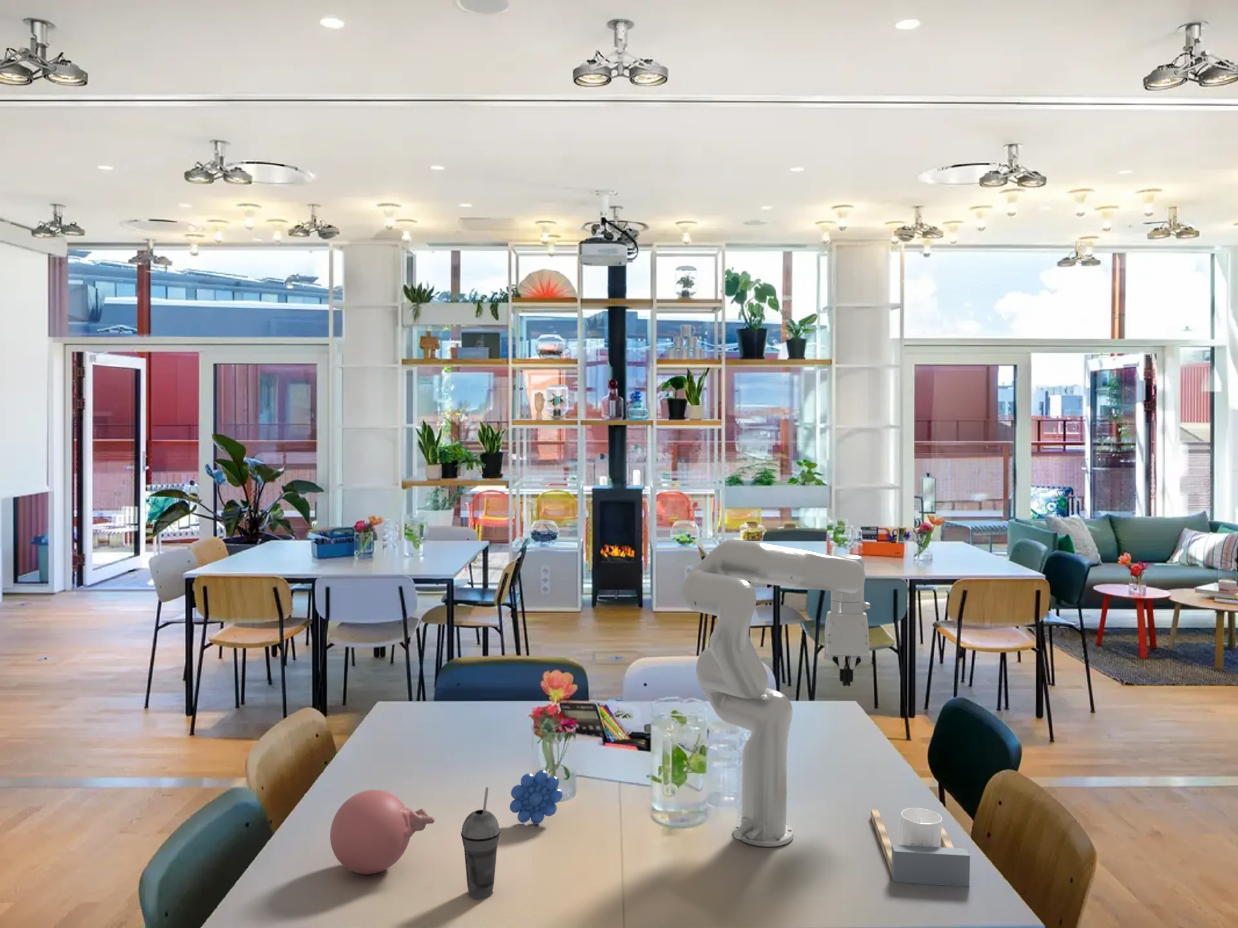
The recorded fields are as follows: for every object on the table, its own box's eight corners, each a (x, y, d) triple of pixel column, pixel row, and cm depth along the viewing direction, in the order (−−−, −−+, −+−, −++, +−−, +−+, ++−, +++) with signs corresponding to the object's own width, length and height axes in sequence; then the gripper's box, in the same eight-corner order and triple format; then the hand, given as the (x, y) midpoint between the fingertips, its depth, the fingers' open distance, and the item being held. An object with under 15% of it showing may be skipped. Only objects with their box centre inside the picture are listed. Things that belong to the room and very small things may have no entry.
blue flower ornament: (563, 815, 209) (564, 763, 209) (561, 828, 202) (561, 774, 202) (512, 815, 209) (512, 762, 209) (508, 828, 202) (508, 773, 202)
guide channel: (965, 878, 180) (965, 868, 180) (891, 874, 182) (891, 864, 182) (935, 821, 207) (935, 812, 207) (870, 817, 209) (871, 808, 209)
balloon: (428, 887, 176) (427, 807, 175) (320, 889, 175) (320, 808, 174) (440, 850, 191) (439, 777, 191) (341, 852, 190) (341, 778, 190)
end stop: (969, 886, 178) (969, 855, 177) (894, 881, 179) (894, 851, 179) (965, 878, 180) (966, 848, 180) (891, 874, 182) (891, 844, 182)
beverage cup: (462, 884, 177) (462, 780, 177) (501, 882, 178) (501, 779, 177) (459, 903, 170) (459, 795, 169) (499, 902, 171) (499, 794, 170)
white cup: (937, 877, 181) (938, 826, 181) (896, 868, 185) (897, 818, 184) (944, 861, 188) (945, 812, 188) (904, 852, 192) (905, 804, 191)
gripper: (877, 605, 221) (876, 681, 222) (813, 603, 223) (812, 679, 224) (882, 611, 214) (881, 690, 215) (815, 609, 216) (815, 687, 217)
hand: (846, 684), depth 219 cm, fingers closed
